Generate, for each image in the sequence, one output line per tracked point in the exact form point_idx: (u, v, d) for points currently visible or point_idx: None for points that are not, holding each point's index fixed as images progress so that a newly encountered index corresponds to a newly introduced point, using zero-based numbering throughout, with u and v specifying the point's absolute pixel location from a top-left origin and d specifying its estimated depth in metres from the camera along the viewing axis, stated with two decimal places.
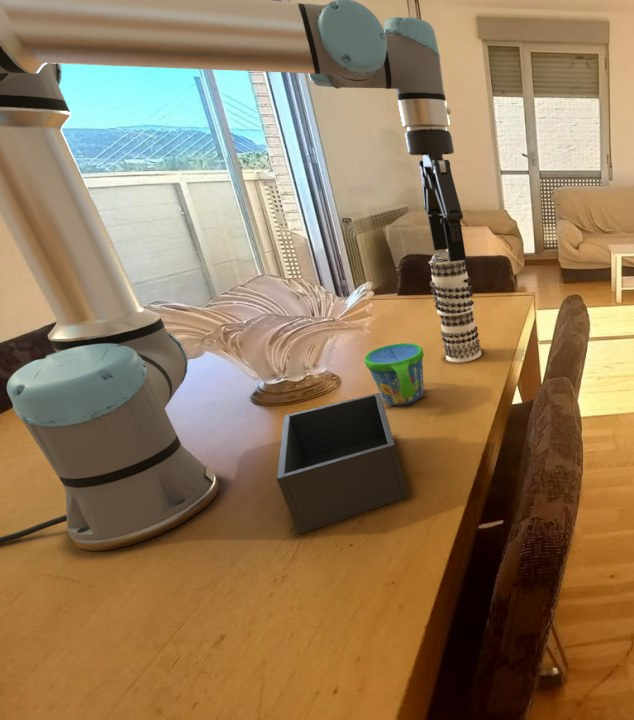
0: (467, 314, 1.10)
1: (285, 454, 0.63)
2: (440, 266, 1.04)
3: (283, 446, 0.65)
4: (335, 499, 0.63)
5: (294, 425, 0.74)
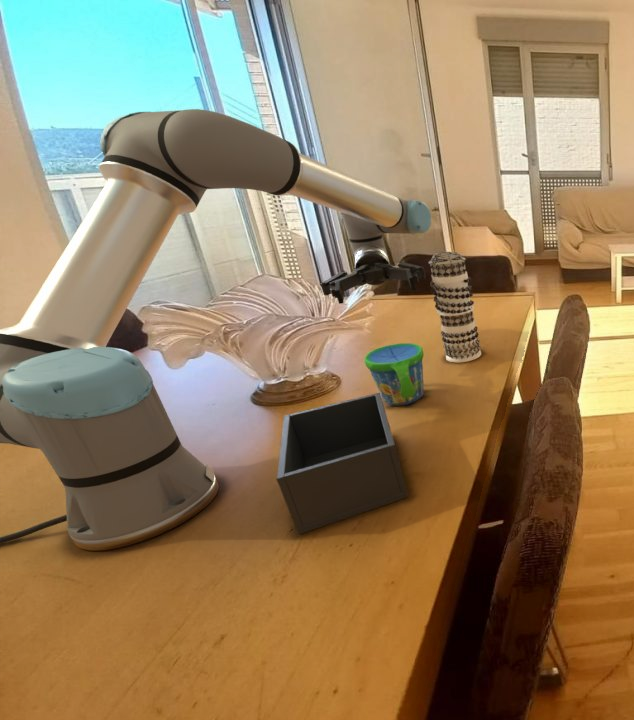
0: (467, 314, 1.10)
1: (285, 454, 0.63)
2: (440, 266, 1.04)
3: (283, 446, 0.65)
4: (335, 499, 0.63)
5: (294, 425, 0.74)
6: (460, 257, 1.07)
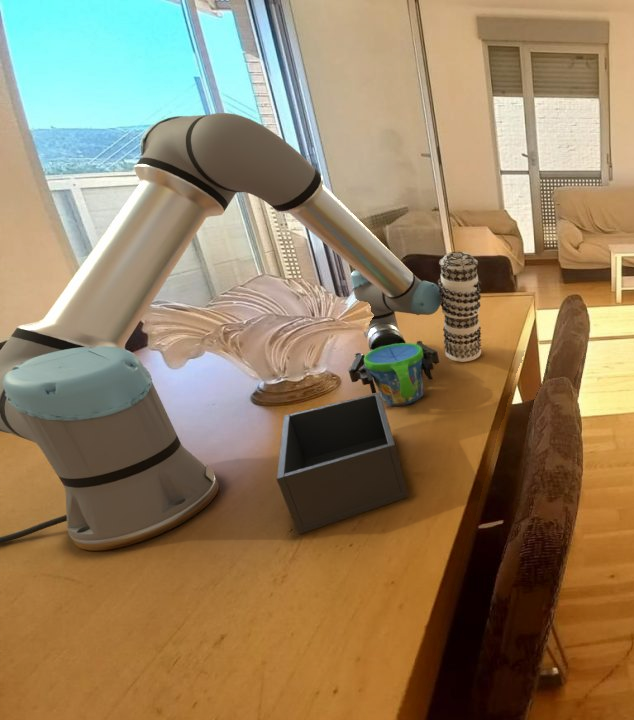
0: (473, 317, 1.09)
1: (285, 454, 0.63)
2: (451, 271, 1.01)
3: (283, 446, 0.65)
4: (335, 499, 0.63)
5: (294, 425, 0.74)
6: (473, 261, 1.03)
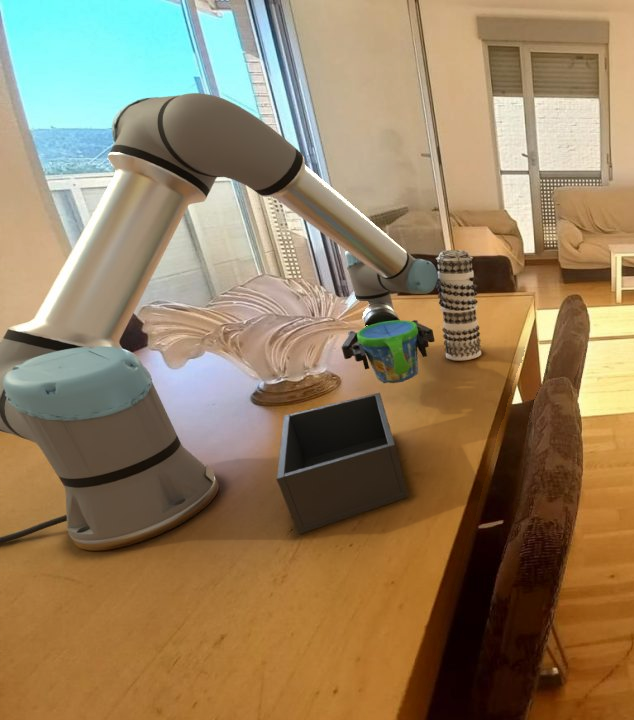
0: (470, 312, 1.11)
1: (285, 454, 0.63)
2: (447, 263, 1.05)
3: (283, 446, 0.65)
4: (335, 499, 0.63)
5: (294, 425, 0.74)
6: (468, 255, 1.08)
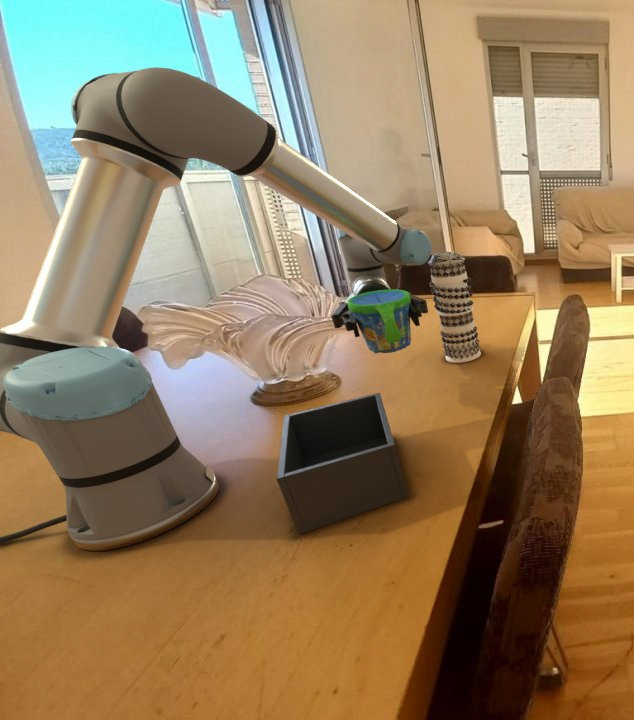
0: (467, 314, 1.10)
1: (285, 454, 0.63)
2: (439, 267, 1.04)
3: (283, 446, 0.65)
4: (335, 499, 0.63)
5: (294, 425, 0.74)
6: (459, 257, 1.06)
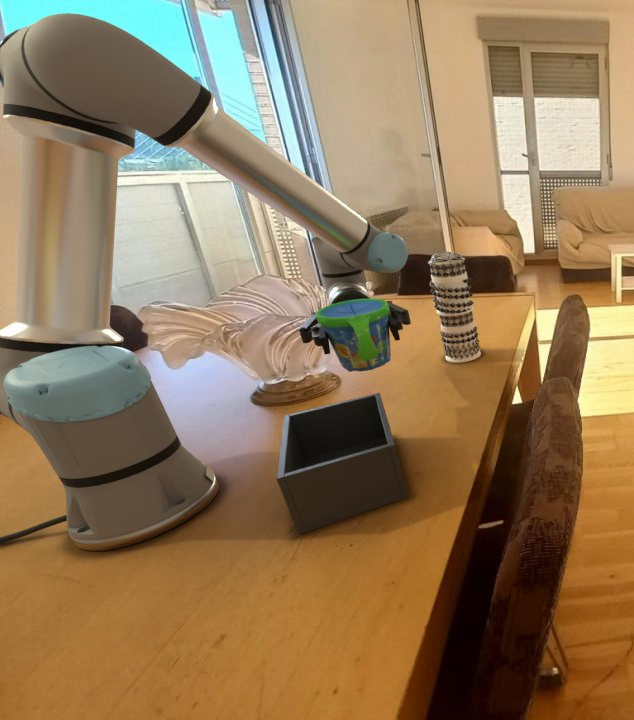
0: (467, 314, 1.10)
1: (285, 454, 0.63)
2: (439, 267, 1.04)
3: (283, 446, 0.65)
4: (335, 499, 0.63)
5: (294, 425, 0.74)
6: (460, 257, 1.06)
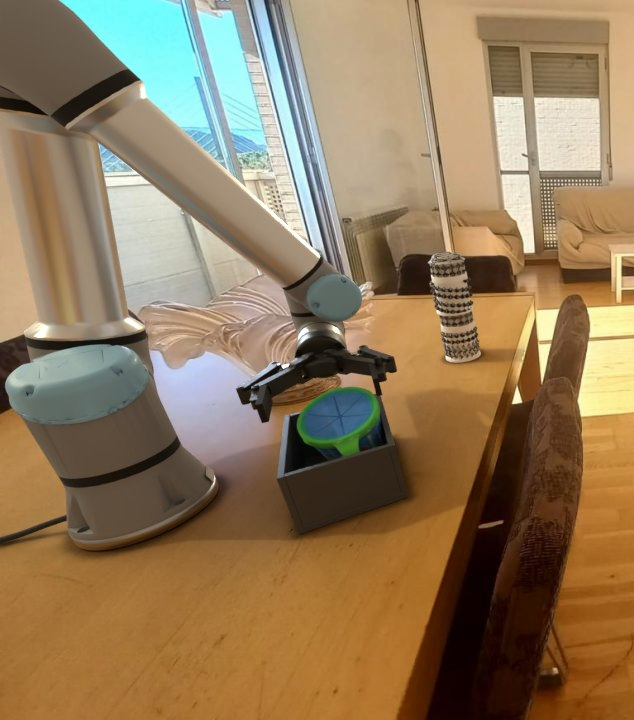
0: (467, 314, 1.10)
1: (285, 454, 0.63)
2: (439, 267, 1.04)
3: (283, 446, 0.65)
4: (335, 499, 0.63)
5: (294, 425, 0.74)
6: (460, 257, 1.06)
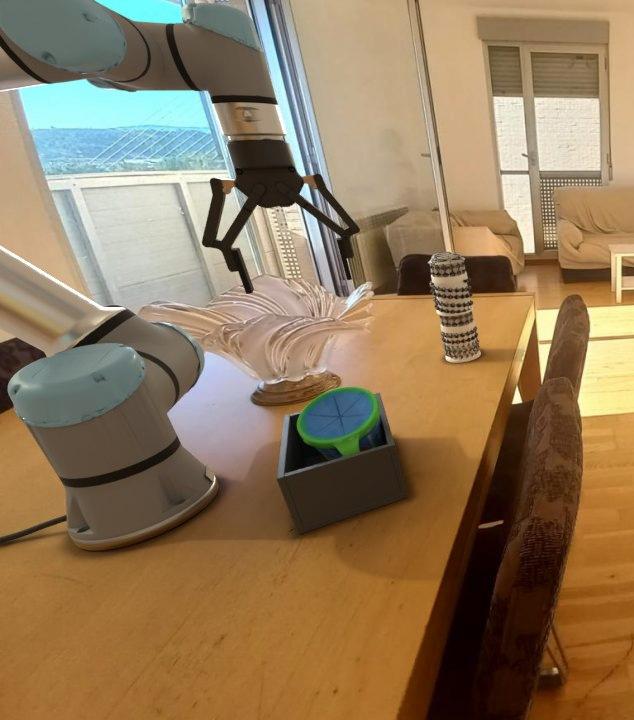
0: (467, 314, 1.10)
1: (285, 454, 0.63)
2: (439, 267, 1.04)
3: (283, 446, 0.65)
4: (335, 499, 0.63)
5: (294, 425, 0.74)
6: (460, 257, 1.06)
